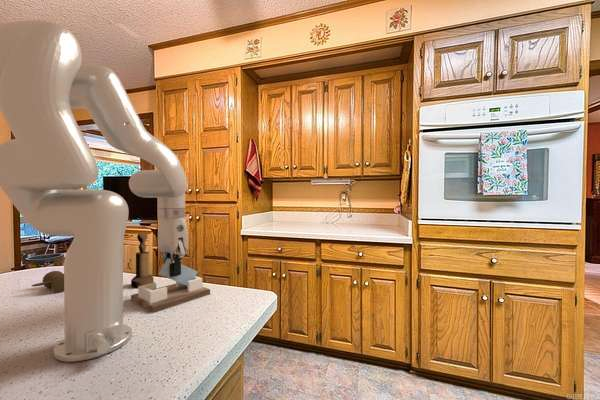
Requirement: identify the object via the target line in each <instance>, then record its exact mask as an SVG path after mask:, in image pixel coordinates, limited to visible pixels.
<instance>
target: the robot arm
mask: <svg viewBox="0 0 600 400" xmlns="http://www.w3.org/2000/svg"><path fill="white" fill-rule="evenodd" d="M82 60H83V56H82V50H81V46H80V43H79V41H78V39H77V38H76V37H75V35H74V34H73V33H72V31H70V30H69V29H68V28H67V27H66V26H63V25H61V24H59V23H56V22H54V21H48V20H42V19H41V20H39V19H37V20H35V19H34V20H33V19H32V20H17V21H9V22H1V23H0V113H1V114H2V117H3V119H4V121H5V122H6V124H7V125H8V128H9V130H10V131H11V133H12V135H13V137H14V138H15V139H14V138H12V139H10V140H6V141H4V142H2V143H0V189H1V190H2V191H3V193H5V195H6V196H7V198H8V199H9V200H10V202H11V203H12V204H13V206H14V207H15V209H17V211H18V212H19V213H20V215H21V216H22V217H23V219H24V220H25V222H27V224H28V225H29V226H31V228H33V229H34V230H36V231H38V232H39V233H41V234H43V235H46V236H47V235H48V236H57V237H58V236H60V237H64V236H65V237H74V238H73V240H72V242H71V243H70V245H69V247H68V249H67V251H66V253H65V255H64V261H63V262H64V263H63V273H64V292H63V293H64V294H63V296H64V297H63V298H64V299H63V300H64V302H63V303H64V305H63V306H64V308H63V311H64V316H63V317H64V318H63V319H64V321H63V322H64V325H63V326H64V330H63V331H64V338H63V339H62V340H60V341H58V343H57V344H56V345H55V347H54V348H53V357H54V358H55V359H56V360H58V361H60V362H69V363H70V362H71V363H72V362H81V361H86V360H91V359H95V358H98V357H101V356H104V355H106V354H109V353H112V352H114V351H115V350H117V349H120V348H121V347H122V346H124V345H125V344H126V343H128V342H129V340H131V338H132V336H133V335H132V334H133V332H132V331H133V330H132V327H131V326H129V325H126V324H124V240H125V233H126V230H127V229H126V228H127V225H128V222H129V212H130V211H129V206H128V203H127V201H126V200H125V199H124V197H123V196H121V195H120V194H118V193H117V192H114V191H111V190H107V189H106V190H105V189H94V188H93V189H88V188H87V187H89V186H91V185H92V184H93V183H95V182H96V181H97V179H98V177H99V167H98V164H97V160H96V158H95V156H94V154H93V152H92V150H91V148H90V146H89V144H88V142H87V140H86V138H85V136H84V134H83V132H82V130H81V128H80V126H79V125H78V123H77V120H76V118H75V115H74V113H73V111H72V110H82V109H84V110H86V111H87V113H88V115H89V116H90V117H91V119H92V121H93V122H94V123H95V125H96V126H97V128H98V130H99V131H100V133H101V135H102V136H103V137H104V139H105V141H106V142H107V144H108V145H109V146H110V147H112V148H113V149H116V150H118V151H120V152H123V153H125V154H129V155H131V156H134V157H137V158H139V159H142V160H144V161H146V162H148V163H149V164H151V165H152V166H154V167H155V168H156V169H144V170H138V171H136V172H134V173H133V174H132V175H130V178H129V180H128V186H129V189H130V191H131V192H132V193H133V194H134V195H136V196H137V197H141V198H146V199H147V198H154V199H155V198H157V220H158V225H157V248H158V250H159V251H160V253H161V255H162V262H163V265H164V263H165V261H166V260H167V258H168V259H171V263H170V277H174V276H178V275H181V264H182V260H183V258H184V257H185V256H186V252H187V251H189V230H188V224H187V219H186V191H187V189H188V179H187V175H186V173H185V170H184V168H183V165H182V164H181V162H180V160H179V158H178V157H177V155H176V154H175V152H174V151H173V150H171V148H169V147H168V146H167V145H166V144H165V143H163V142H162V141H161V140H159V139H158V138H157V137H155V136H154V135H153V134H151V133H150V132H148V131H147V129H146V128H145V126H144V124H143V122H142V120H141V119H140V117H139V114H138V112H137V111H136V108H135V107H134V104H133V103H132V101H131V99H130V97H129V95H128V93H127V91H126V89H125V87H124V85H123V83H122V81H121V79H120V78H119V77H118V75H117V74H116V73H115V71H113V70H112V69H111V68H109V67H107V66H104V65H101V64H91V63H85V64H82ZM85 188H87V189H85ZM163 265H162V266H163Z"/></svg>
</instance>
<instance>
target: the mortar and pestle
mask: <svg viewBox="0 0 600 400" xmlns="http://www.w3.org/2000/svg"><path fill="white" fill-rule="evenodd" d="M136 238H137V240H138V242H139V245H138V250H139V251H138V252H135V276H133V278H131V281H130V287H131V288H135V289H137V288H138V286H142V285H146V284H151V283H155V282H154V276H153V275H152V274H150V252H149V251H146V249H147V244H146V241H147V239H148V234H147V232H139V233H138V234H137V236H136Z"/></svg>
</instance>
